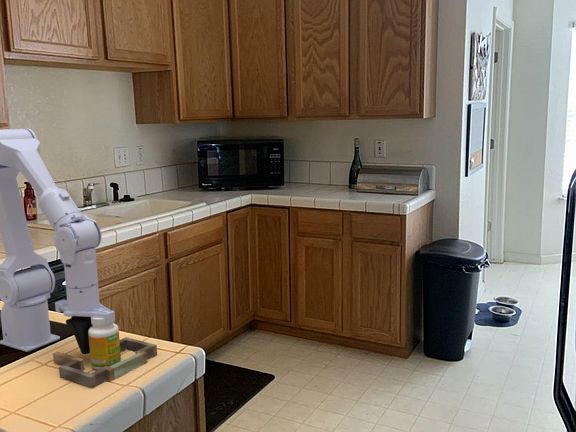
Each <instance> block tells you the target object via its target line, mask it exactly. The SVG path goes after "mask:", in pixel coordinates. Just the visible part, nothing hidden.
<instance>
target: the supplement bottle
mask: <svg viewBox="0 0 576 432" xmlns="http://www.w3.org/2000/svg"><path fill="white" fill-rule="evenodd" d="M91 323H92V325H93V326H92V327H90V329H89V331H88V335H89V347H90V353H89V355H90V356H89V357H90V365H91V368H92V369H94V370H95V371H97V370H99V369H101V368H103V367H105V366H108V367H110V366H112V365H114V364H116V363H118V362H120V361H122V355H121V353H120V340H121V339H120V331H119V329H120V328H119V326H118V325H117V324H116V323H115V322H112V323H109V324H105V320H104V318H101V317H91Z"/></svg>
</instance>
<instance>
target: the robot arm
mask: <svg viewBox="0 0 576 432" xmlns="http://www.w3.org/2000/svg"><path fill="white" fill-rule="evenodd" d="M40 154H41V142H40V141H39V139H38V137H37V134H35V132H34V131H33V129H31V128H28V127H25V128H24V127H23V128H13V129H12V128H11V129H10V128H9V129H7V128H6V129H0V237H1V240H2V244H3V249H4V253H5V257H6V258H5V259H4V260H3V262H2V263H1V264H0V301H1V302H3V305H2V307H1V309H0V322H1V330H2V338H3V339H1V340H0V345H4V346H5V347H10V348H13V349H16V350H18V351H19V350H20V351H23V352H31V351H33V350H36V349H38V348H40V347H43V346H45V345H48V344H50V343H52V342H56V341H58V340H60V339H61V336H60V335H56V334H54V333H51V324H50V314H49V304H48V303H49V302H48V299H51V294H52V293H53V292H54V290H55V285H56V277H55V275H54V272H53V270H51V267H50V266H49V263H48V259H47V258H46V257H44V256H42V255H40V254H38V253H36V252H35V250H34V245H33V242H32V238H31V233H30V229H29V226H28V221H27V217H26V213H25V209H24V205H23V204H24V203H23V200H22V196H21V193H20V188H19V183H18V181H17V179H18V178H17V177H18V175H20V173H21V174H22V175H23V177H24V178H25V179H26V181H28V183H29V184H30V185H31V187H32V188H33V190H34V191H35V192H36V194H38V196H39V199H38V204H37V205H38V207H39V209H40V210H41V212H42V214H43V215H44V216H45V218H46V219H47V221H48V222H49V224H50V226H51V227H52V229H53V230H54V232H55V237H54V239H53V240H54V244H55V247H56V249H57V251H58V253H59V257H60V258H59V259H60V261H61V263H62V264H63V267H64V269H63V270H64V279H65V281H64V282H65V291H66V292H65V293H66V299H61V300H58V301H55V302H54V306H55V312H56V313H61V312H62V313H63V316H64V317H68V318H67V319H66V320H65V324H66V325H67V327H68V328H69V329H70V331H71V333H72V335H73V336H74V338H75V339H76V340H75V341H76V343H77V345H78V348H79V350H80V353H81V354H82V355H85V356H87V355H90V347H89V335H88V331H89V329H90V327H92V326H93V325H92V323H91V317H101V318H104V320H105V324H109V323H112V322H113V323H115V321H116V314H115V311H114V310H112V309H109V308H108V307H106V306H104V305H103V304H102V303H101V302H100V293H99V292H100V291H99V290H100V289H99V280H98V279H99V277H98V266H97V265H98V263H97V252H96V249H97V248H99V246H100V244H101V242H102V231H101V228H100V226H99V224H98V222H97V221H96V220H95V219H94V218H90V217H89V216H88V215H86V214H83V213H82V212H81V210H80V209H79V207H78V205H77V204H76V203H75V201H74V200H73V198H72V197H71V195H70V194H69V192H68V191H67V190H66V189H64V188H60V187H57V185H56V182H55V181H54V179H53V177H52V176H51V173H50V172H49V171H50V170H48V167H46V164H45V162H44V161H43V158H42V157H41V155H40ZM29 267H30V268H29ZM24 268H28V269H24ZM21 269H24V270H21ZM19 270H20V271H19Z"/></svg>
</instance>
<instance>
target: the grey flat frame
mask: <svg viewBox="0 0 576 432" xmlns="http://www.w3.org/2000/svg"><path fill="white" fill-rule="evenodd" d="M119 340H120V354H121V353H122V352H124V351H132V352H134V353H135V354H133V355H131V356H129V357H126V358H125V359H122V360H121V361H120V362H118V363H116V364H114V365H112V366H110V367H108V366H105V367H103V368H101V369H99V370H95V371H93V372H91V373H90V372H87V371H84V370H86V369H85V359H84V358H80V357H77V356H74V355H70V354H67V353H64V352H61V351H55V352H52V358H53V361H52V362H53V364H54V365H59V366H58V371H59V372H58V374H59V379H63V380H65V381H68V382H70V383H71V382H72V383H74V384H77V385H81V386H84V387H86V388H89V389H93V388H95V387H97V386H99V385H101V384H102V383H103V384H104V383H105V382H106V381H109V382H111V381H113V380H116V379H118V378H119V377H122V376H123V375H125V374H127V373H129V372H131V371H134V370H135V369H137V368H139V367H141V366H143V365H144V364H146V363H148V360H149V359H152V358H154V357H155V356H157V355H158V346H157V344H153V343H150V342H147V341H142V340H138V339H134V338H130V337H128V336H127V337H123V338H121V339H119Z"/></svg>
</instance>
